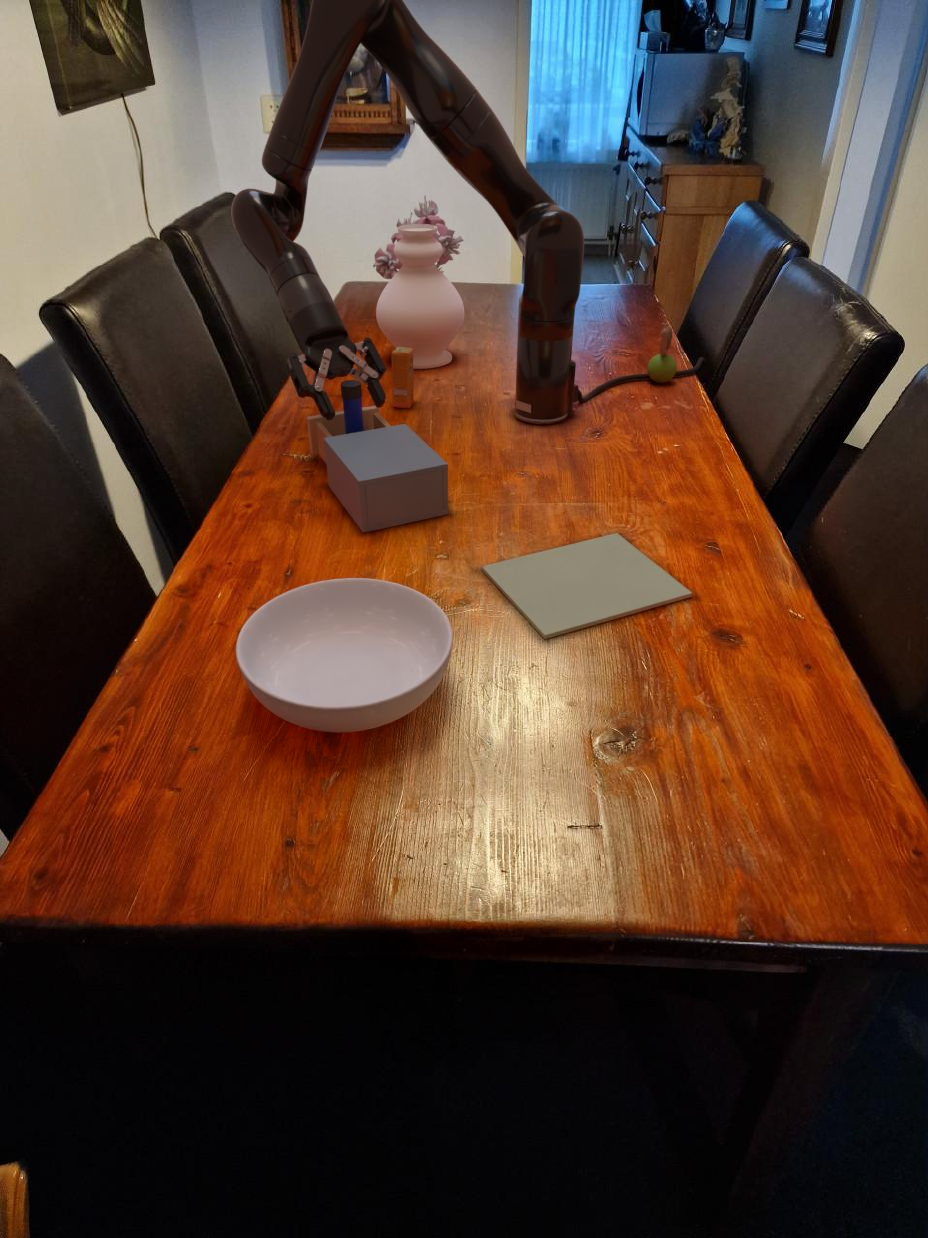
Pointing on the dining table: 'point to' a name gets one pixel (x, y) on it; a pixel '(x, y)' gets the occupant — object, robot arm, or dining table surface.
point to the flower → (389, 262)
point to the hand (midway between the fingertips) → (357, 411)
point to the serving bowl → (345, 653)
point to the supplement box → (402, 377)
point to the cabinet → (386, 477)
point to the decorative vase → (420, 300)
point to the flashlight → (352, 406)
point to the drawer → (338, 427)
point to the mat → (583, 584)
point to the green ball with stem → (663, 359)
